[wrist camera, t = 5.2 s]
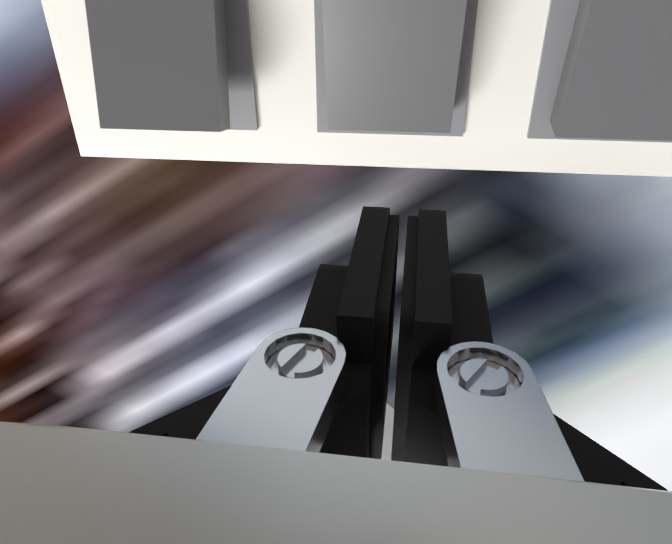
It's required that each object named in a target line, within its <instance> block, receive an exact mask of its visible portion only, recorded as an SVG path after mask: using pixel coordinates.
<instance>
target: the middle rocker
mask: <svg viewBox="0 0 672 544" xmlns="http://www.w3.org/2000/svg"><path fill="white" fill-rule="evenodd" d="M321 1H322V21H323V40H324V60H325V79H326V99H327V118H328V130H361V131H396V132H431V133H450V132H451V124H452V116H453V108H454V100H455V93H456V85H457V77H458V69H459V61H460V53H461V45H462V37H463V29H464V22H465V14H466V6H467V0H321Z"/></svg>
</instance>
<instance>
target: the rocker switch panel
mask: <svg viewBox="0 0 672 544" xmlns="http://www.w3.org/2000/svg"><path fill="white" fill-rule="evenodd" d="M41 1H42V5H43V9H44V13H45V17H46V21H47V25H48V29H49V33H50V37H51V41H52V45H53V49H54V53H55V57H56V61H57V64H58V68H59V72H60V76H61V80H62V84H63V88H64V92H65V96H66V100H67V104H68V108H69V112H70V116H71V120H72V124H73V127H74V131H75V135H76V139H77V143H78V147H79V151H80V155H81V156H91V157H120V158H149V159H177V160H206V161H235V162H263V163H292V164H321V165H349V166H378V167H407V168H435V169H464V170H493V171H521V172H550V173H578V174H607V175H636V176H664V177H672V141H663V140H628V139H594V138H559V137H555V135H554V132H553V129H552V126H551V123H550V117H551V113H552V109H553V105H554V101H555V97H556V93H557V89H558V85H559V81H560V77H561V73H562V69H563V65H564V62H565V58H566V54H567V50H568V46H569V42H570V38H571V34H572V30H573V26H574V22H575V18H576V14H577V10H578V6H579V2H580V0H467V6H466V14H465V22H464V29H463V37H462V45H461V53H460V61H459V69H458V77H457V85H456V93H455V100H454V108H453V116H452V124H451V132H450V133H431V132H396V131H361V130H328V118H327V99H326V79H325V60H324V40H323V21H322V1H321V0H225V21H226V44H227V66H228V88H229V110H230V129H228V130H225V131H222V132H203V131H169V130H136V129H102V128H100V123H99V115H98V106H97V98H96V90H95V81H94V73H93V65H92V57H91V48H90V40H89V32H88V23H87V15H86V7H85V0H41Z"/></svg>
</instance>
